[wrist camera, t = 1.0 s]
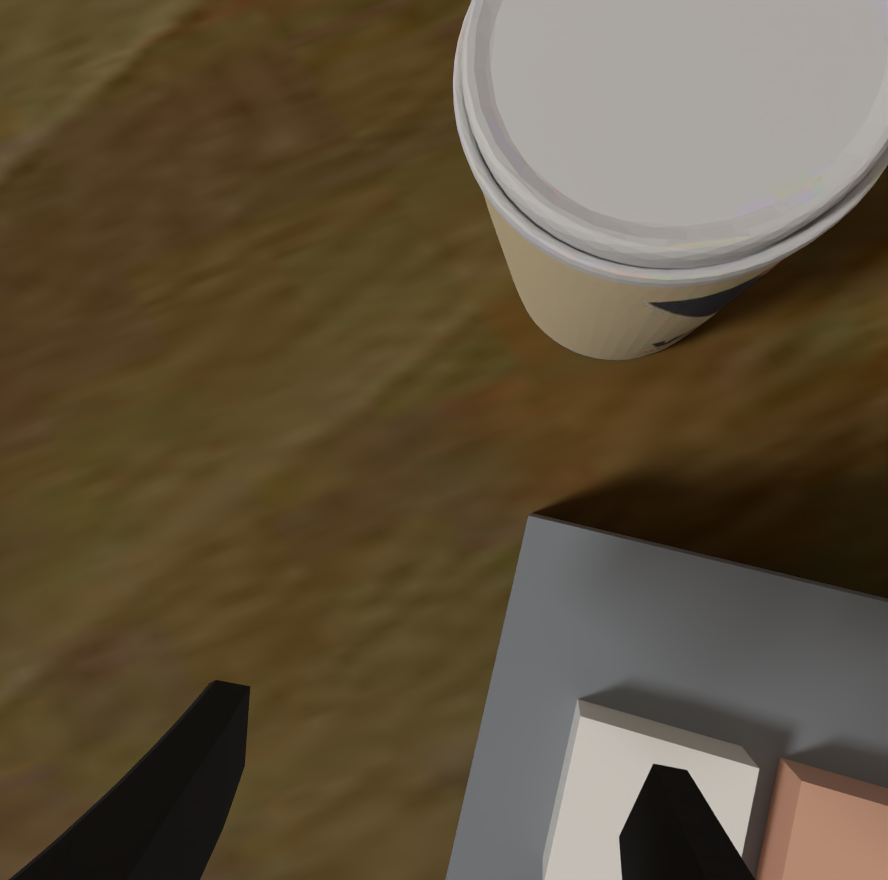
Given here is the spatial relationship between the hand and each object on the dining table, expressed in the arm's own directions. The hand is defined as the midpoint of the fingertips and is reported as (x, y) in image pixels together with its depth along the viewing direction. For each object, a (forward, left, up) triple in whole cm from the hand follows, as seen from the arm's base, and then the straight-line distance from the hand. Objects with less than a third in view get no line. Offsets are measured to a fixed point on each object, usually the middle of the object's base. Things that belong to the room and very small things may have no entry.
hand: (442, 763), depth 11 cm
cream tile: (-3, -5, -8) cm, 10 cm away
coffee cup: (+14, -1, -13) cm, 19 cm away
